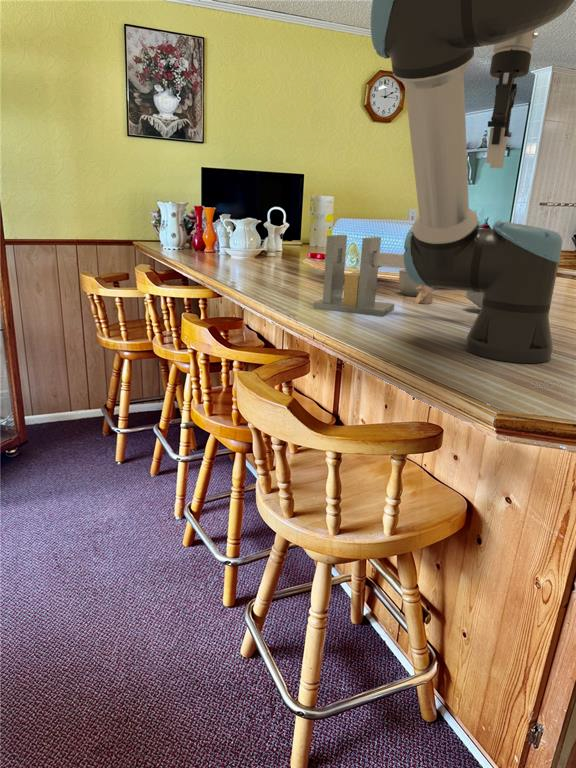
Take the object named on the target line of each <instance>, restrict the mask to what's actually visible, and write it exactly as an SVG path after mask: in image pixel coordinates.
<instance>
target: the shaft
mask: <svg viewBox="0 0 576 768" xmlns="http://www.w3.org/2000/svg"><path fill="white" fill-rule="evenodd" d="M372 265H373V266H378V267H386V268H398V269H405V265H404V253H403V254H401V253H389V252H380V253H379V252H375V253H373V258H372Z"/></svg>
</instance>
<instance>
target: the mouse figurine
mask: <svg viewBox="0 0 576 768" xmlns="http://www.w3.org/2000/svg"><path fill="white" fill-rule="evenodd" d="M416 290H417V291H418V292H419V293H418V295H417V296H415V297H416V298H415V300H414V301H413V303H415V304H419V305H420V304H421V305H431V304H441V303H440V302H438V301H433V291H431V289H430V288H429V287H428V286H423V285H421V286H419V287H417V288H416Z"/></svg>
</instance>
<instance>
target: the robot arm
mask: <svg viewBox="0 0 576 768" xmlns="http://www.w3.org/2000/svg"><path fill="white" fill-rule="evenodd" d="M574 2H575V0H372V2H371V9H370V10H371V11H370V35H371V36H370V37H371V42H372V46H373V49H374V50H375V52H376V54H377V56H379V57H381V58H384V60H385V59H390V62H391V68H392V75H393V77H394V78H395V79H397V80H398V81H399V82H401V83H403V84H404V91H405V100H406V109H407V110H406V111H407V119H408V125H409V138H410V144H411V146H410V147H411V152H412V153H411V154H412V162H413V164H412V165H413V171H414V180H415V182H414V183H415V189H416V197H417V198H416V199H417V206H418V214H419V216H418V217H417V218H416V219H415V220H414V222H413V224H412V226H411V227H410V229H409V230H408V232H407V233H406V236H405V239H404V242H403V243H404V245H403V249H404V252H403V254H404V265H405V268H404V269H406V272H407V274H408V276H409V278H410V279H411V280H412V281H413V282H414V283H416V284H418V285H423V286H428V287H432V288H433V289H447V290H448V289H449V290H456V291H464V292H466V291H470V292H479V293H483V301H482V307H481V308H480V310H479V312H478V315H477V316H476V318H475V320H474V322H473V324H472V327H470V330H469V332H468V334H467V337H466V340H465V341H466V342H465V349H466V351H468V352H469V353H471V354H473V355H476V356H480V357H482V358H486V359H490V360H496V361H502V362H510V363H517V364H540V363H546V362H549V361H550V360H551V358H552V354H553V349H554V347H553V339H552V333H551V332H552V331H551V325H550V318H549V317H550V311H551V304H552V301H553V300H552V299H553V294H554V289H555V284H556V279H557V274H558V270H559V265H560V263H561V262H562V258H561V253H562V247H563V246H562V245H563V238H562V236H561V235H560V234H559V232H557V231H555V230H550V229H546V228H542V227H537V226H533V225H532V226H531V225H526V224H520V223H515V222H508V221H502V220H496V221H495V223H494V225H492V228H483V227H480V228H479V218H478V214H477V213H476V211H474V210H472V209H471V208H470V206H469V205H470V204H469V185H468V184H469V183H468V182H469V180H468V175H469V174H468V155H467V154H468V152H467V151H468V150H467V149H468V147H467V127H466V126H467V125H466V99H465V97H466V95H465V74H464V72H465V69H466V68H467V66H468V65H469V64H470V63H471V61H472V60H473V59H474V57H475V48H480V47H487V46H492V45H493V46H492V52H493V55H492V57H491V63H490V69H489V75H490V76H491V77H493V78H495V79H498V83H497V84H496V85H495V96H494V105H493V111H492V116H491V117H490V120H489V121H487V127H488V128H490V129H489V130H490V131H489V138H488V145H487V151H486V157H485V163H486V164H490V165H489V168H490V169H504V163H505V157H506V150H507V144H508V139H509V138H511V137H512V132H510V123H511V115H512V109H513V108H514V105H515V97H516V95H517V90H518V84H517V83H515V80H516V78H522V77H525V76H527V75H528V73H529V71H530V67H531V60H532V54H531V51H532V50H533V46H534V40H536V39H537V38H538V37H539V34H538V32H536V30H537V29H538V28H541V27H542V26H545V25H547V24H549V23H551V22H552V21H554V20H556V19H557V18H559V17H560V16H561V15H563V14H564V13H565V12H566V11H567V10H569V8H570V7H571V6H572V4H573V3H574Z"/></svg>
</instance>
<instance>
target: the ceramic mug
mask: <svg viewBox="0 0 576 768" xmlns="http://www.w3.org/2000/svg"><path fill="white" fill-rule="evenodd" d="M464 297H465V298H466V299H468V300H469V301H470V302H472V303H473V304H474V305H476V306H477V307H478V308H480V309H481V307H482V301H483V293H479V292H470V291H465V296H464Z"/></svg>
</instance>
